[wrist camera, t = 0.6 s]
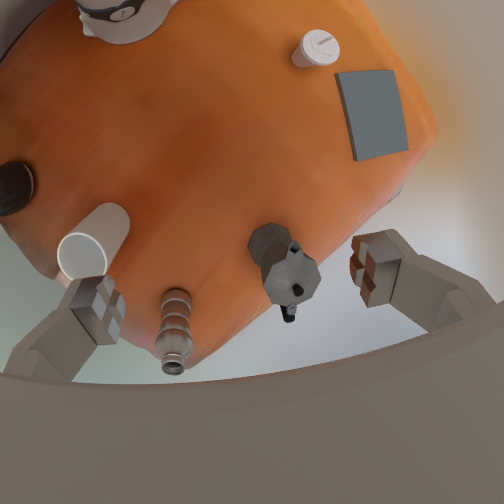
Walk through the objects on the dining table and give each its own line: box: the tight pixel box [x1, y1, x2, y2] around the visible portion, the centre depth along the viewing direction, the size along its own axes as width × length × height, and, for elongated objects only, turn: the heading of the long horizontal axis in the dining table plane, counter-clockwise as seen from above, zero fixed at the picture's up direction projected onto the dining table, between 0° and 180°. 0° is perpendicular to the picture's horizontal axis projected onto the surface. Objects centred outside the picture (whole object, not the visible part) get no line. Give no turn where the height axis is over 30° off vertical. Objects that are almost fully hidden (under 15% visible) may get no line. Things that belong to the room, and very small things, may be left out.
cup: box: [57, 203, 130, 280], centre depth 41 cm, size 8×8×16 cm
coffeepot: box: [248, 223, 321, 323], centre depth 49 cm, size 15×9×18 cm, turn 1°
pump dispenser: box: [0, 161, 34, 217], centre depth 34 cm, size 10×10×15 cm
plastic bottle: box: [156, 290, 193, 376], centre depth 49 cm, size 6×7×20 cm
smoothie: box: [291, 30, 340, 68], centre depth 36 cm, size 6×6×14 cm
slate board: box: [335, 70, 409, 161], centre depth 48 cm, size 18×14×2 cm
